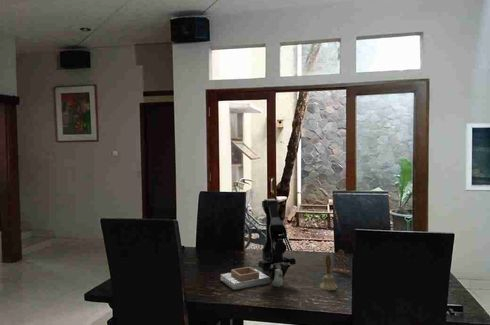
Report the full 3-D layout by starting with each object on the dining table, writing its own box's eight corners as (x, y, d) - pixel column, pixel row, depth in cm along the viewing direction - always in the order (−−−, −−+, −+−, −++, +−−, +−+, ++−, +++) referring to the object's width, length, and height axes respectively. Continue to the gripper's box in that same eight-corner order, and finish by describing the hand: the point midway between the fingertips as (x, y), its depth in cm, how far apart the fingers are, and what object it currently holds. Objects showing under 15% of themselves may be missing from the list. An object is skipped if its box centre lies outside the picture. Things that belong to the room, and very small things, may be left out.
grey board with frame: (254, 274, 218) (254, 264, 218) (269, 283, 204) (269, 272, 203) (220, 280, 209) (220, 269, 209) (233, 289, 195) (233, 278, 194)
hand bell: (327, 291, 191) (327, 258, 190) (316, 286, 198) (316, 254, 198) (341, 288, 195) (341, 255, 194) (330, 283, 202) (329, 251, 201)
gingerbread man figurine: (350, 272, 220) (350, 250, 219) (348, 274, 216) (347, 251, 216) (334, 269, 224) (334, 248, 224) (331, 271, 221) (331, 249, 220)
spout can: (279, 282, 204) (279, 268, 204) (286, 286, 198) (286, 272, 198) (270, 284, 202) (270, 270, 202) (277, 288, 196) (277, 273, 196)
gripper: (284, 242, 212) (284, 272, 212) (252, 247, 203) (253, 278, 204) (296, 247, 202) (296, 278, 202) (263, 252, 193) (264, 284, 194)
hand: (277, 279), depth 201 cm, fingers closed on spout can, 5 cm apart
